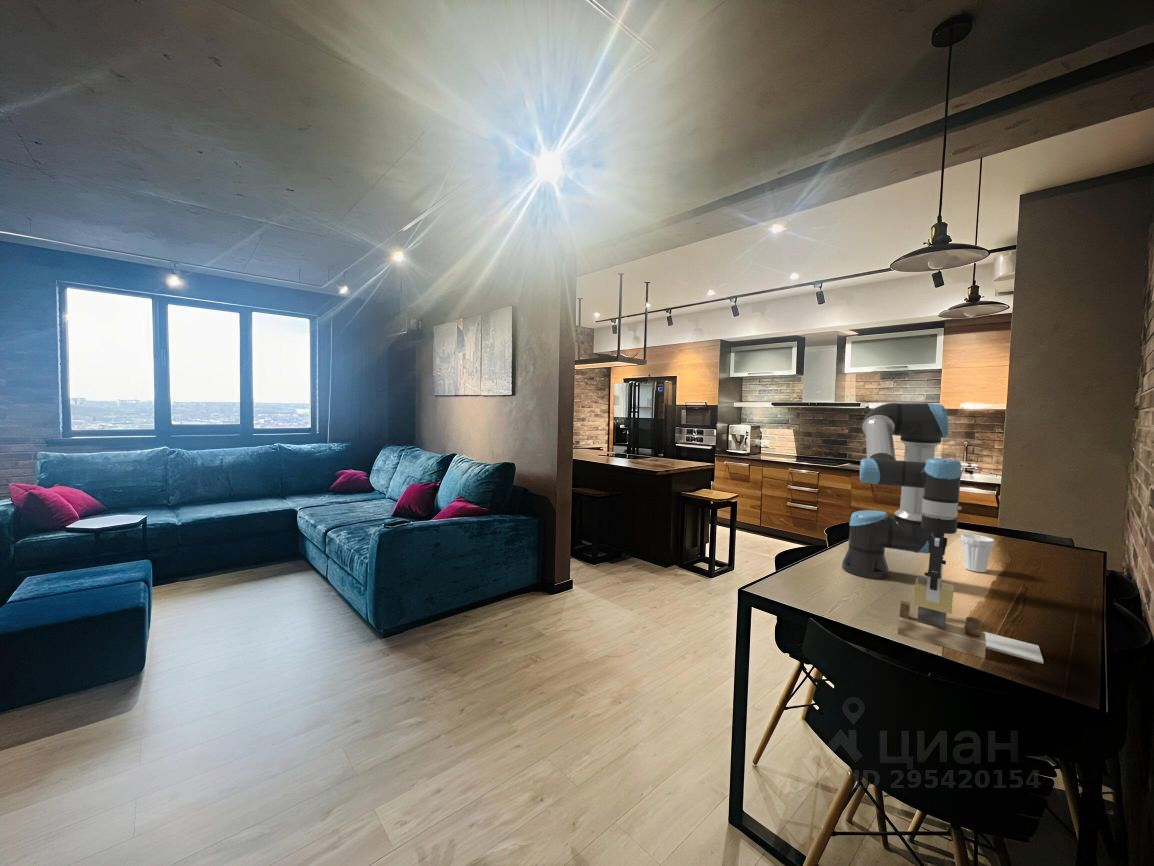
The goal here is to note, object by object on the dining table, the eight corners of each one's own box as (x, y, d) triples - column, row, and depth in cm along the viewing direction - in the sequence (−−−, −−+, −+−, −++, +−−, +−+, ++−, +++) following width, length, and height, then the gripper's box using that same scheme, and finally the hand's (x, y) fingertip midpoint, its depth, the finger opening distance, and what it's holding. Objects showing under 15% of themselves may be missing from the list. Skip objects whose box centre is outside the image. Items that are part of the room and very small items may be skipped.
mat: (983, 647, 120) (984, 645, 120) (982, 633, 127) (982, 631, 127) (1043, 663, 113) (1043, 661, 113) (1038, 647, 120) (1038, 645, 120)
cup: (988, 569, 180) (991, 536, 179) (994, 577, 172) (997, 543, 171) (956, 563, 185) (958, 532, 185) (960, 571, 177) (963, 538, 176)
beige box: (913, 604, 124) (915, 579, 123) (915, 598, 128) (917, 573, 128) (951, 614, 119) (953, 587, 118) (951, 606, 123) (953, 580, 123)
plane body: (897, 633, 126) (899, 602, 125) (900, 624, 131) (902, 594, 131) (984, 658, 114) (987, 623, 114) (983, 647, 120) (986, 614, 119)
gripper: (957, 527, 110) (950, 612, 111) (958, 511, 129) (952, 584, 130) (918, 521, 115) (912, 603, 116) (924, 507, 134) (919, 577, 135)
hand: (933, 593), depth 123 cm, fingers open, 13 cm apart
